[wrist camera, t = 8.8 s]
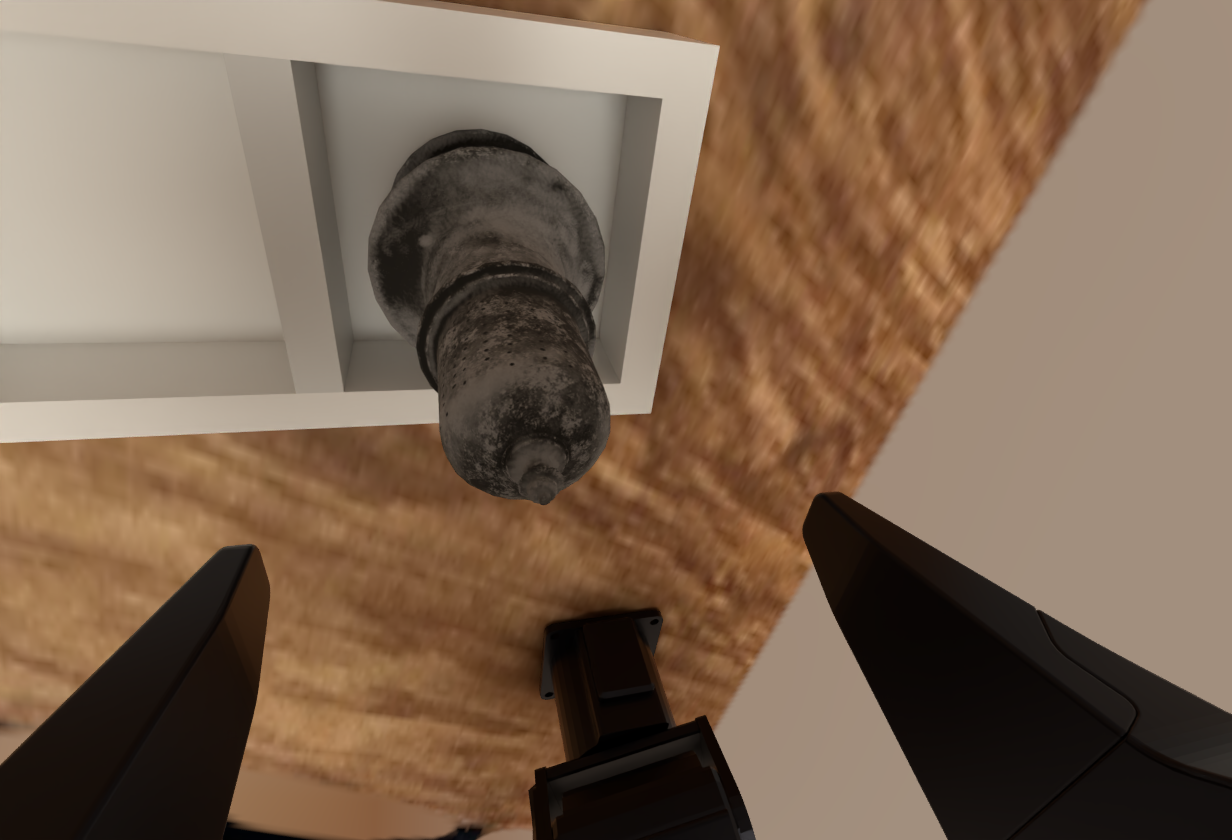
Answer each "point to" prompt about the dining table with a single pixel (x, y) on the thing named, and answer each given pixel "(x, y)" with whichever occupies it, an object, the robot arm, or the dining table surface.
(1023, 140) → the dining table surface
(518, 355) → the grey stone turned post
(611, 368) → the condiment caddy
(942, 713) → the robot arm
